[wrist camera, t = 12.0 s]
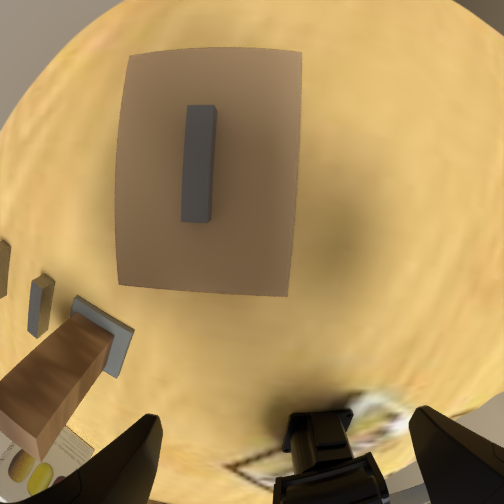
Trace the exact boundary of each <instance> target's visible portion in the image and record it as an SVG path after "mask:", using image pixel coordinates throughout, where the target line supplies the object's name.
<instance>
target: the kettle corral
mask: <svg viewBox="0 0 504 504" xmlns="http://www.w3.org/2000/svg"><path fill="white" fill-rule="evenodd" d="M389 497H390V504H431V502H430V499H429V495H428V492H427V489H426V486H425V483H423V484H420V485H418V486H415V487H412V488H409V489H406V490H403V491H400V492H396V493H393V494H390V495H389Z"/></svg>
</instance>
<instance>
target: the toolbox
mask: <svg viewBox="0 0 504 504" xmlns="http://www.w3.org/2000/svg"><path fill="white" fill-rule="evenodd" d="M301 89H302V52H297V51H288V50H278V49H265V48H244V47H211V48H190V49H177V50H167V51H158V52H150V53H144V54H137V55H131V56H129V61H128V66H127V71H126V77H125V83H124V89H123V96H122V103H121V111H120V119H119V128H118V139H117V153H116V171H115V239H116V257H117V271H118V282H119V285H125V286H135V287H145V288H156V289H167V290H179V291H192V292H206V293H221V294H237V295H256V296H279V297H287V296H288V287H289V277H290V267H291V256H292V245H293V233H294V221H295V208H296V194H297V179H298V162H299V143H300V120H301Z"/></svg>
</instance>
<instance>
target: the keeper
mask: <svg viewBox="0 0 504 504" xmlns="http://www.w3.org/2000/svg"><path fill="white" fill-rule="evenodd" d="M10 251H11V246H10V245H9V244H7V243H6V242H5V241H1V242H0V299H1V298H2V297H4V296H6V295H7V279H8V268H9V259H10ZM54 285H55V281H54V280H53V279H51V278H50V277H48V276H47V275H46V274H43V275H41V276H40V277H38V278H36V279H34V280H32V283H31V291H30V301H29V312H28V329H27V331H28V332H29V333H31V334H32V335H33V336H34V337H35V338H37V339H38V338H39V337H40V336H41V335H42V334H43V333H45V332H46V331H47V330H48V324H49V316H50V309H51V302H52V296H53V290H54Z"/></svg>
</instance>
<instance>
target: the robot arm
mask: <svg viewBox="0 0 504 504" xmlns="http://www.w3.org/2000/svg"><path fill="white" fill-rule="evenodd" d="M352 417H353V411H352V410H342V411H331V412H316V413H294V414H291V415H290V416H289V420H288V425H287V429H286V434H285V438H284V442H283V446H282V451H283V452H284V453H291V454H292V461H293V469H294V475H291V476H286V477H282V476H281V477H276V482H275V484H274V492H273V504H390V497H389V492H388V489H387V486H386V482H385V480H384V478H383V475H382V473H381V471H380V469H379V467H378V465H377V463H376V461H375V459H374V457H373V455H372V453H371V452H368V453H365V455H362V456H360V457H357V458H354V456H353V453H352V450H351V447H350V444H349V441H348V438H347V435H346V432H347V429H348V427H349V425H350V422H351V420H352ZM409 431H410V435H411V439H412V443H413V447H414V451H415V455H416V459H417V462H418V465H419V468H420V470H421V474H422V477H423V480H424V483H425V486H426V489H427V492H428V495H429V499H430V502H431V504H504V448H503V447H501V446H499V445H497V444H495V443H493V442H491V441H489V440H487V439H485V438H484V437H482V436H480V435H478V434H476V433H475V432H473V431H471V430H469V429H467V428H465V427H464V426H462V425H460V424H459V423H457V422H455V421H453V420H451V419H450V418H448V417H446V416H445V415H443V414H441V413H439V412H438V411H436V410H434V409H433V408H431V407H429V406H427V405H424V406H420V407H418V408H416V410H415V412H414V414H413V415H412V417H411V419H410V421H409ZM162 437H163V429H162V425H161V421H160V418H159V416H158V415H154V414H145V415H144V416H143V417H142V418H140V419H139V420H138V421H137V422H136V423H134V424H133V425H132V426H131V427H130V428H128V429H127V430H126V431H125V432H124V433H122V434H121V435H120V436H119V437H117V438H116V439H115V440H114V441H112V442H111V443H110V444H109V445H107V446H106V447H105V448H104V449H102V450H101V451H100V452H99V453H97V454H96V455H95V456H93V457H92V458H91V459H90V460H88V461H87V462H86V463H84V464H83V465H82V466H80V467H79V468H78V469H76V470H75V471H74V472H72V473H71V474H70V475H68V476H67V477H65V478H64V479H62V480H61V481H59V482H58V483H56V484H54V485H52V486H50V487H49V488H47V489H45V490H43V491H41V492H39V493H37V494H35V495H33V496H31V497H28V498H26V499H24V500H21V501H18V502H12V503H4V502H0V504H147V503H148V499H149V496H150V493H151V489H152V486H153V483H154V479H155V476H156V472H157V467H158V461H159V455H160V449H161V443H162Z"/></svg>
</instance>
